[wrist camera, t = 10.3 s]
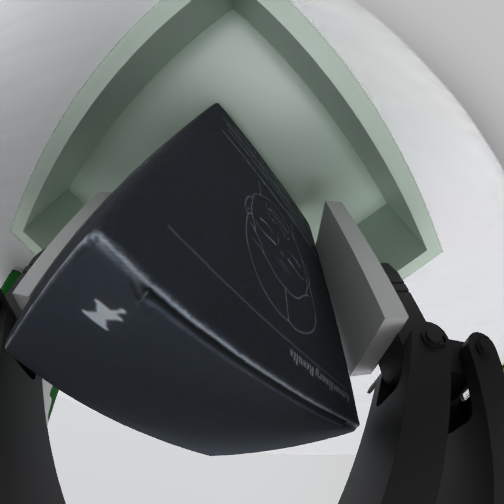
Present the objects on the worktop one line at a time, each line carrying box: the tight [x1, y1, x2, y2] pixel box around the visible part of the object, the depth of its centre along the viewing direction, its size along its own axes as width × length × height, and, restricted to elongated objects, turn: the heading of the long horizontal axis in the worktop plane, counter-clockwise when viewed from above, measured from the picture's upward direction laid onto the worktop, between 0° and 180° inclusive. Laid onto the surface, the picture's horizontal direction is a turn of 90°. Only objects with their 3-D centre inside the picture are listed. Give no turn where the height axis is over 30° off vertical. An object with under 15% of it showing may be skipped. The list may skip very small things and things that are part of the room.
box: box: [5, 103, 360, 456], centre depth 9 cm, size 8×6×11 cm
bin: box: [10, 0, 443, 280], centre depth 13 cm, size 16×16×6 cm
